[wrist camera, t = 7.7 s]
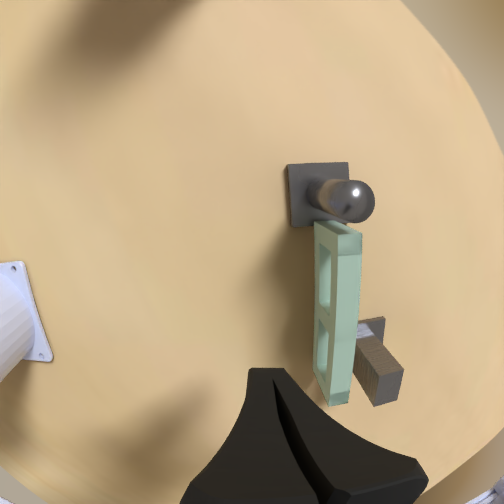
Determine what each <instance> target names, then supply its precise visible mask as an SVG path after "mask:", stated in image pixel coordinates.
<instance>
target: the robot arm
mask: <svg viewBox="0 0 504 504" xmlns="http://www.w3.org/2000/svg"><path fill="white" fill-rule="evenodd" d="M14 266H15V268H16V270H15V268H14ZM42 354H43V355H42ZM21 359H24V360H34V361H46V362H50V361H51V360H52V359H53V354H52V351H51V349H50V346H49V343H48V341H47V338H46V335H45V332H44V329H43V326H42V323H41V320H40V317H39V314H38V311H37V308H36V305H35V301H34V298H33V294H32V291H31V287H30V283H29V279H28V275H27V271H26V267H25V264H24V263H23V262H22V261H13V262H5V263H0V383H1V381H2V380H3V379H4V378H5V377H6V376H7V375H8V374H9V372H10V371H11V370H12V369H13V368H14V367H15V366H16V365H17V364H18V363H19V362H20V361H21ZM428 481H429V479H428V477H427V475H426V474H425V472H424V470H423V469H422V467H421V465H420V464H419V462H418V461H417V460H416V459H415V458H412V457H408V456H405V455H402V454H399V453H395V452H392V451H390V450H387V449H385V448H382V447H380V446H377V445H375V444H373V443H371V442H369V441H367V440H365V439H363V438H361V437H360V436H358V435H356V434H354V433H353V432H351V431H349V430H348V429H346V428H345V427H343V426H342V425H341V424H339V423H338V422H336V421H335V420H334V419H332V418H331V417H330V416H329V415H327V414H326V413H325V412H324V411H323V410H322V409H321V408H319V407H318V406H317V405H316V404H315V403H314V402H313V401H312V400H311V399H310V398H309V397H308V396H307V395H306V394H305V393H304V391H303V390H302V389H301V388H300V387H299V386H298V385H297V383H296V382H295V381H294V380H293V379H292V378H291V376H290V375H289V374H288V373H287V372H286V370H285V369H284V368H251V369H249V372H248V381H247V390H246V398H245V401H244V404H243V406H242V409H241V412H240V414H239V416H238V419H237V421H236V423H235V425H234V427H233V429H232V430H231V432H230V434H229V436H228V437H227V439H226V440H225V442H224V444H223V445H222V447H221V448H220V449H219V451H218V452H217V453H216V455H215V456H214V457H213V458H212V460H211V461H210V462H209V463H208V465H207V466H206V467H205V468H204V469H203V470H202V471H201V472H200V473H199V474H198V475H197V476H196V477H195V478H194V479H193V480H192V481H191V482H190V484H189V486H188V488H187V490H186V491H185V493H184V495H183V497H182V499H181V501H180V504H413V503H414V502H415V500H416V499H417V498H418V497H419V496H420V495H421V494H422V492H423V491H424V490H425V488H426V487H427V484H428ZM0 504H14V503H12V502H10V501H8V500H6V499H5V498H3V497H1V496H0ZM465 504H504V475H503V476H502V477H501V478H500V479H499V480H498V481H497V482H496V483H495V485H494V486H493V487H492V488H491V489H489V490H488V491H486V492H484V493H483V494H481V495H479V496H478V497H476V498H474V499H472V500H471V501H469V502H467V503H465Z"/></svg>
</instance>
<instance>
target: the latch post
mask: <svg viewBox="0 0 504 504" xmlns="http://www.w3.org/2000/svg"><path fill="white" fill-rule="evenodd" d="M384 328H385V318H384V317H377V318H372V319H367V320H362V321H358V326H357V336H356V346H355V355H354V363H353V371H352V372H353V373H354V375H355V377H356V378H357V380H358V381H359V383H360V385H361V386H362V388H363V390H364V391H365V393H366V395H367V396H368V398H369V400H370V402H371V403H372V405H373V407H375V406H378V405H382V404H385V403H389V402H392V401H395V400H397V398H398V394H399V390H400V385H401V381H402V376H403V372H404V369H403V368H402V366H401V365H400V364H399V363H398V362H397V361H396V359H395V358H394V357H393V356H392V355H391V353H390V352H389V351H388V350H387V349H386V348H385V346H384V345H383V336H384Z"/></svg>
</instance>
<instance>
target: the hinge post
mask: <svg viewBox="0 0 504 504" xmlns="http://www.w3.org/2000/svg"><path fill="white" fill-rule="evenodd" d="M287 171H288V184H289V198H290V213H291V226H292V227H303V226H314V221H329V220H334V221H337V222H339V223H360V222H363V221H365V220H366V219H367V218H368V217H369V216H370V215H371V214H372V212H373V209H374V206H375V198H374V194H373V191H372V190H371V188H370V187H369V186H368V185H367V184H366V183H364V182H362V181H357V180H349V168H348V162H334V163H305V164H287Z"/></svg>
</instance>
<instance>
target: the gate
mask: <svg viewBox="0 0 504 504" xmlns="http://www.w3.org/2000/svg"><path fill="white" fill-rule="evenodd" d="M314 249H315V304H314V346H313V371H314V374H315V376H316V378H317V381H318V383H319V385H320V388H321V390H322V393H323V395H324V397H325V400H326V402H327V404H328V407H330V406H335V405H340V404H345V403H348V399H349V392H350V385H351V378H352V371H353V363H354V355H355V346H356V336H357V326H358V314H359V301H360V285H361V263H362V233H361V232H359V231H356V230H354V229H352V228H350V227H348V226H346V225H343V224H341V223H339V222H337V221H334V220H329V221H314Z"/></svg>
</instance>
